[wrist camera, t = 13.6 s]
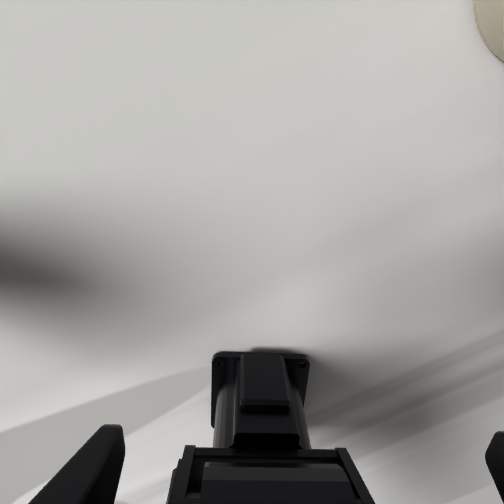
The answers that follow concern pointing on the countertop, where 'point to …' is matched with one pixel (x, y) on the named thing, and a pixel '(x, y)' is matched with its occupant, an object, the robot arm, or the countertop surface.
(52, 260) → the countertop surface
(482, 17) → the travel mug
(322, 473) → the robot arm
